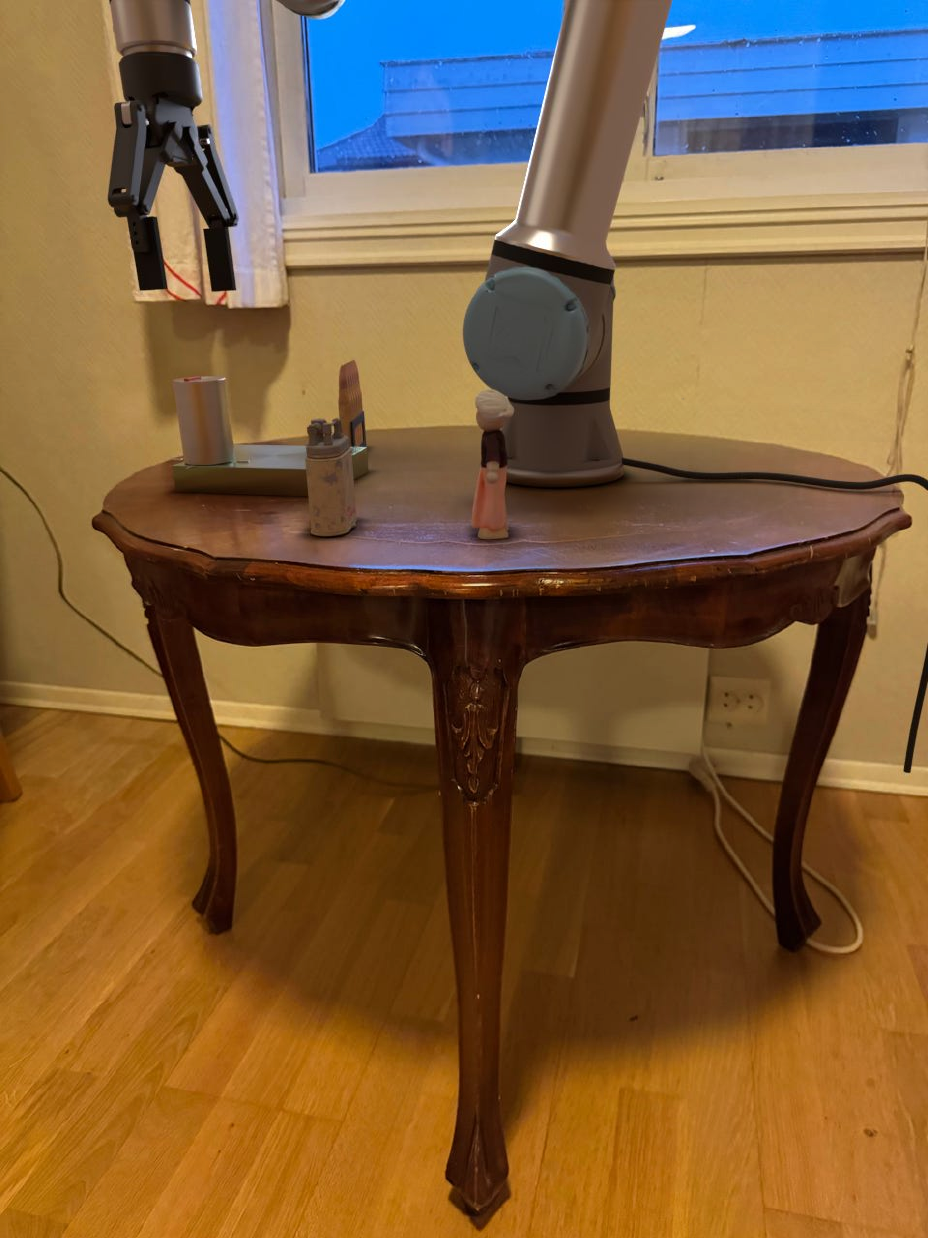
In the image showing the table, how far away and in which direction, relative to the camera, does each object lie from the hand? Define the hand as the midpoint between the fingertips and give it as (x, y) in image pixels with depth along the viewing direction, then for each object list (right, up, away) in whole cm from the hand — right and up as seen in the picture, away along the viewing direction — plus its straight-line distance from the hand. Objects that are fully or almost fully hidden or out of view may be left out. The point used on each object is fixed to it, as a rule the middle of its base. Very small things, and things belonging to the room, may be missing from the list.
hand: (191, 290), depth 93 cm
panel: (+6, -19, +10) cm, 22 cm away
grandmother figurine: (+31, -27, -14) cm, 44 cm away
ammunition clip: (+14, -13, +26) cm, 32 cm away
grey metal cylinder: (0, -17, +7) cm, 18 cm away
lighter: (+17, -26, -10) cm, 33 cm away
